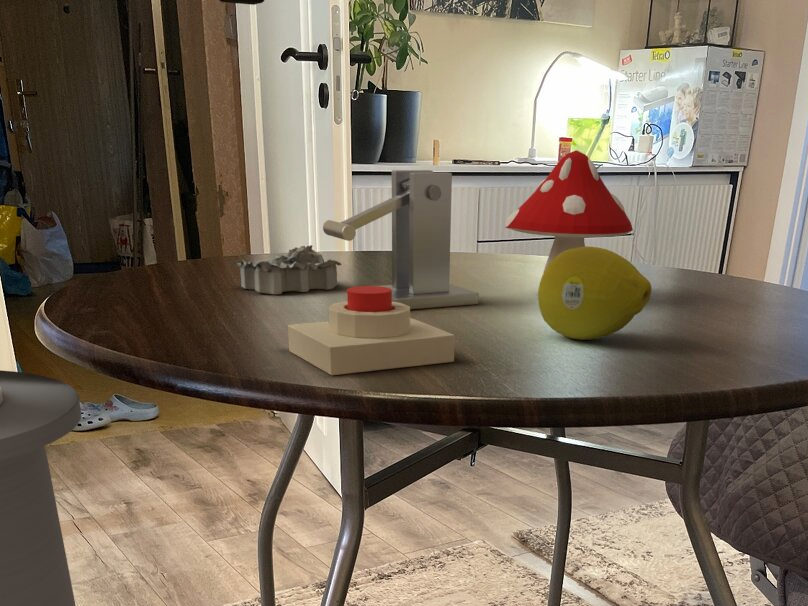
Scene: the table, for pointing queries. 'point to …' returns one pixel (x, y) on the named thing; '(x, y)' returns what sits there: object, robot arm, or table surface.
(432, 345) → the control block
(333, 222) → the tap lever
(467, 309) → the table surface
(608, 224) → the decorative mushroom
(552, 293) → the lemon
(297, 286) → the egg carton
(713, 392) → the table surface
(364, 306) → the button
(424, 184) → the grey lever stand
